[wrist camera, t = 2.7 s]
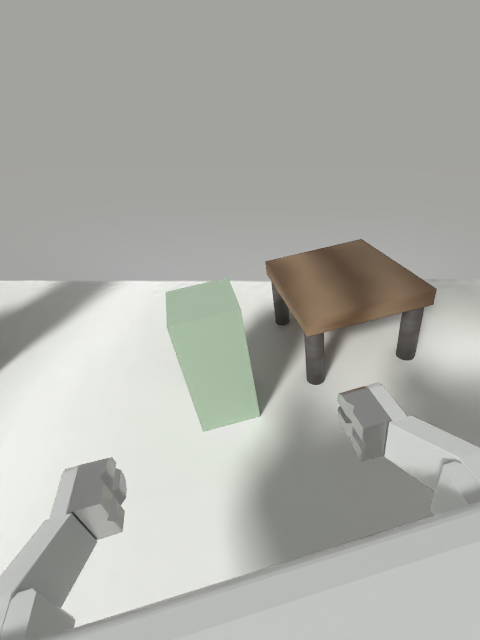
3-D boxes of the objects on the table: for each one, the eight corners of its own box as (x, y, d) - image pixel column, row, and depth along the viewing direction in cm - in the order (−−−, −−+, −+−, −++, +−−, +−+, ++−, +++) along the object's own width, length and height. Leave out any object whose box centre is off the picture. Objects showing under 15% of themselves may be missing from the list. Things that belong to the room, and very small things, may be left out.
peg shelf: (309, 388, 30) (306, 321, 26) (272, 318, 40) (265, 261, 35) (421, 358, 31) (436, 288, 26) (358, 296, 41) (361, 239, 36)
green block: (203, 431, 28) (166, 327, 22) (197, 389, 32) (165, 292, 26) (260, 416, 28) (240, 309, 22) (247, 376, 32) (228, 277, 26)
